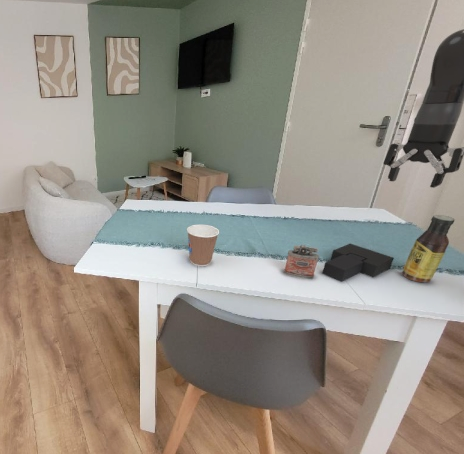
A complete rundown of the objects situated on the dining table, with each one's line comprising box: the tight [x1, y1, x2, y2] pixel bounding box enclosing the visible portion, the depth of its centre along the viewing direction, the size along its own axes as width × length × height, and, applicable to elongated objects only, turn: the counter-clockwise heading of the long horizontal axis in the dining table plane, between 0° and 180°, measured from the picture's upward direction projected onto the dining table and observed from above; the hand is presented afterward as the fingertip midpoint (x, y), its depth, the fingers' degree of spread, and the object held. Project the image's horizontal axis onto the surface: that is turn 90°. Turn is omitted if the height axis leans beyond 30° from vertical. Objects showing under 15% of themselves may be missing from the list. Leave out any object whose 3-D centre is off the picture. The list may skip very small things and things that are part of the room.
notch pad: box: [330, 243, 395, 278], centre depth 94 cm, size 12×10×4 cm
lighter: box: [283, 244, 320, 280], centre depth 90 cm, size 8×3×10 cm, turn 65°
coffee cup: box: [186, 224, 220, 267], centre depth 100 cm, size 10×10×12 cm
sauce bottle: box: [402, 214, 456, 283], centre depth 83 cm, size 7×6×20 cm
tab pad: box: [322, 254, 366, 283], centre depth 91 cm, size 6×13×4 cm, turn 116°
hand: (411, 183), depth 80 cm, fingers open, 8 cm apart
